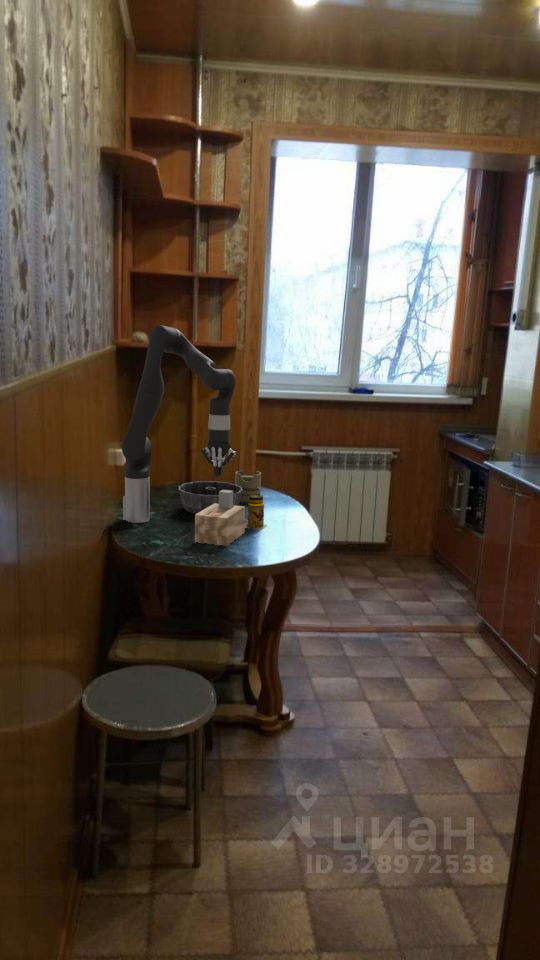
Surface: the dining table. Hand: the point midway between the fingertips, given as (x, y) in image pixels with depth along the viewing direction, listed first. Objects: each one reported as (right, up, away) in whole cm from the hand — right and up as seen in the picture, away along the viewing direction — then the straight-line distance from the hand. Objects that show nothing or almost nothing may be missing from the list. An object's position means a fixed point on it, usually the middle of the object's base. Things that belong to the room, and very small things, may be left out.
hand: (218, 476), depth 248 cm
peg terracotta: (-1, -21, +1) cm, 21 cm away
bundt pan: (-6, -14, +44) cm, 46 cm away
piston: (+8, -10, +66) cm, 67 cm away
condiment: (+12, -19, +22) cm, 32 cm away
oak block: (0, -22, +6) cm, 23 cm away
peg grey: (+2, -13, +9) cm, 16 cm away
